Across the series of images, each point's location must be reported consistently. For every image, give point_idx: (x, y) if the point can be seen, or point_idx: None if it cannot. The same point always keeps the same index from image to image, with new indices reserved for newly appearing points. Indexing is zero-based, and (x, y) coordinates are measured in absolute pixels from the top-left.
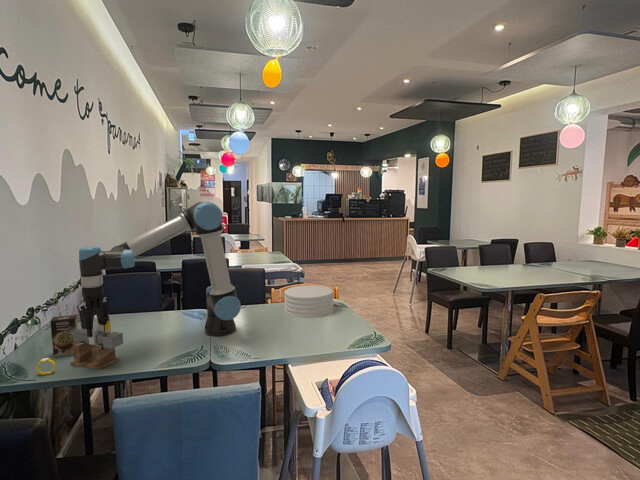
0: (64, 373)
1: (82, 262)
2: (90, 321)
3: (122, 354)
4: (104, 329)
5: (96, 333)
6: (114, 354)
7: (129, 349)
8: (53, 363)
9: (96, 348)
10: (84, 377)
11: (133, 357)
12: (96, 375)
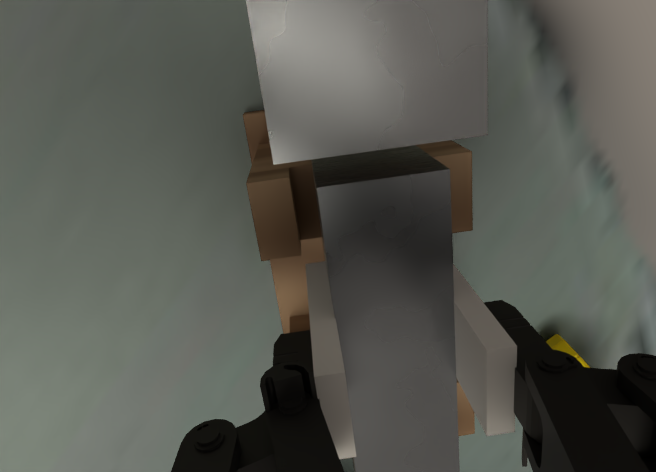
0: (536, 268)
1: None
2: (639, 459)
3: (163, 190)
4: (282, 350)
5: (422, 317)
6: (266, 148)
7: (71, 225)
8: (580, 362)
9: (467, 171)
10: (553, 86)
11: (152, 45)
12: (507, 29)
